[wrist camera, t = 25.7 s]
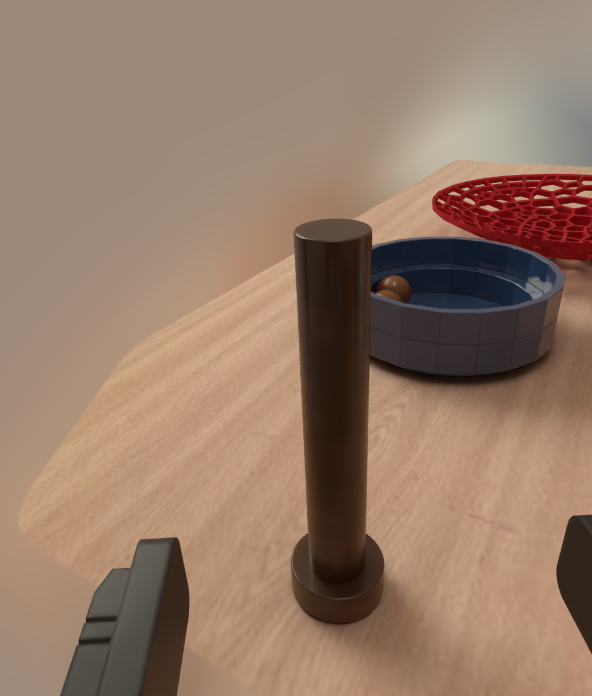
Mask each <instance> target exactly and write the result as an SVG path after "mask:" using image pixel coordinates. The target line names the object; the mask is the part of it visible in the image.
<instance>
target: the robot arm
mask: <svg viewBox="0 0 592 696" xmlns="http://www.w3.org/2000/svg"><path fill="white" fill-rule="evenodd" d="M556 572H557V582H558V587H559V590H560V593H561V596H562V598H563V600H564V602H565V604H566V606H567V608H568V610H569V612H570V613H571V615H572V617H573V619H574V621H575V623H576V625H577V627H578V629H579V631H580V633H581V634H582V636H583V638H584V640H585V642H586V644H587V646H588V648H589V650H590V652H591V653H592V515H579V516H572V517H571V518H570V519H569V522H568V525H567V529H566V533H565V536H564V540H563V544H562V548H561V552H560V556H559V560H558V564H557V571H556ZM188 617H189V588H188V582H187V577H186V572H185V567H184V563H183V558H182V553H181V548H180V543H179V540H178V538H177V537H175V538H158V539H141V540H140V541H139V542H138V544H137V547H136V551H135V554H134V558H133V561H132V565H131V568H119V569H112V570H111V571H110V573H109V574H108V575H107V577H106V578H105V579H104V581H103V582H102V583H101V584H100V586H99V587H98V588H97V590H96V591H95V592H94V595H93V598H92V601H91V604H90V608H89V610H88V614H87V616H86V623H85V624H84V626H83V628H82V631H81V635H80V638H79V644H78V646H76V649H75V653H74V656H73V659H72V662H71V665H70V668H69V671H68V674H67V677H66V680H65V683H64V686H63V689H62V692H61V695H60V696H177V690H178V684H179V677H180V669H181V663H182V657H183V651H184V644H185V637H186V631H187V624H188Z"/></svg>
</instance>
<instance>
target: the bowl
mask: <svg viewBox="0 0 592 696" xmlns="http://www.w3.org/2000/svg"><path fill="white" fill-rule="evenodd" d="M522 180H523V182H510V183H508V182H507V181H522ZM526 180H541V181H526ZM560 180H577V181H574V182H568V183H565V182H562V181H560ZM583 181H592V175H578V174H531V175H512V176H499V177H491V178H483V179H477V180H472V181H466V182H463V183H459V184H455V185H452V186H450V187H448V188H445V189H443V190H441V191H438V193H437V194H436V195H435V196H434V197H433V200H432V205H433V211H434V212H435V213H436V214H438V215H439V216H440V217H441V218H442V219H443V220H445V221H447V222H449V223H451V224H453V225H455V226H457V227H459V228H461V229H463V230H466V231H468V232H470V233H473V234H475V235H477V236H479V237H482V238H484V239H487V240H490V241H495V242H500V243H505V244H510V245H515V246H518V247H521V248H524V249H527V250H530V251H533V252H536V253H538V254H540V255H542V256H545V257H552V258H560V259H572V260H592V198H587V197H580V196H576V194H578V193H580V192H582V191H592V185H583V184H582V182H583ZM497 182H503V183H501V184H493V185H491V184H490V183H497ZM482 184H484V185H485V186H481V187H475V186H476V185H482ZM548 185H556V186H559V187H562V189H559V190H555V191H548V190H543V189H541V187H542V186H548ZM466 187H468V188H469V189H470V190H467V191H464V190H462V189H463V188H466ZM529 187H536V188H529ZM571 187H578V188H577V189H567V188H571ZM453 191H454V192H456V193H458V194H460V195H461V196H457V195H449V194H448V193H451V192H453ZM487 191H492V192H487ZM473 194H478V195H473ZM506 194H510V195H506ZM562 194H566V195H571V196H567V197H559V198H556V197H555V196H559V195H562ZM536 195H541V196H545V197H549V198H546V199H534V196H536ZM520 196H522V197H525V198H528V199H530V200H520V201H516V200H515V199H514V198H515V197H520ZM466 197H467V198H469V199H471V200H473V201H474V202H475V203H476V204H475V205H472V204H470V203H467V202H465V201H463V199H464V198H466ZM438 199H441V200H443V201H444V202H446V203H444V204H442V203H440V202H439V201H437V200H438ZM496 200H504V201H508V202H505V203H502V202H499V201H496ZM456 201H457V202H456ZM568 203H578V204H583V205H587V206H586V207H580V208H570V207H566V206H563V205H562V204H568ZM451 205H452V206H454V207H457V208H459V209H457V208H454V207H452V206H451ZM485 205H490V206H492V207H495V208H497V209H500V210H498V211H493V212H490V211H487V210H485V209H482V208H480V206H485ZM541 206H553V207H554V208H538V207H541ZM475 213H477V214H478V215H476V214H475ZM467 215H468V216H467Z"/></svg>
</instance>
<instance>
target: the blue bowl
mask: <svg viewBox="0 0 592 696" xmlns="http://www.w3.org/2000/svg"><path fill="white" fill-rule="evenodd" d="M391 275H397V276H401V277H403V278H405V279H406V280H407V281H408V282H409V284H410V286H411V290H412V296H411V299H410V301H409V303H408V304H406V303H402V302H399V301H396V300H392V299H389V298H386V297H382V296H379V295H377V294H375V293H376V289H377V286H378V284H379V283H380V281H381V280H382V279H384V278H385V277H387V276H391ZM564 281H565V275H564V274H563V272H562V271H561V270H560V268H559V267H558V266H557V264H556V263H554V262H552V261H551V260H549V259H547V258H545V257H544V256H542V255H540V254H538V253H536V252H533V251H530V250H527V249H524V248H521V247H518V246H515V245H510V244H505V243H500V242H495V241H490V240H484V239H473V238H463V237H420V238H410V239H399V240H395V241H390V242H386V243H381V244H377V245H373V246H372V265H371V313H370V355H371V356H373V357H376V358H378V359H381V360H383V361H386V362H388V363H390V364H393V365H395V366H398V367H401V368H404V369H408V370H412V371H416V372H421V373H426V374H433V375H442V376H476V375H484V374H491V373H495V372H503V371H509V370H512V369H515V368H518V367H520V366H523V365H526V364H528V363H531V362H534V361H536V360H538V359H539V358H540V357H541V356H542V355H543V354H544V353H545V352H547V351H548V350H549V349H550V348H551V346H552V342H553V337H554V332H555V327H556V322H557V317H558V312H559V307H560V302H561V297H562V292H563V286H564Z"/></svg>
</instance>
